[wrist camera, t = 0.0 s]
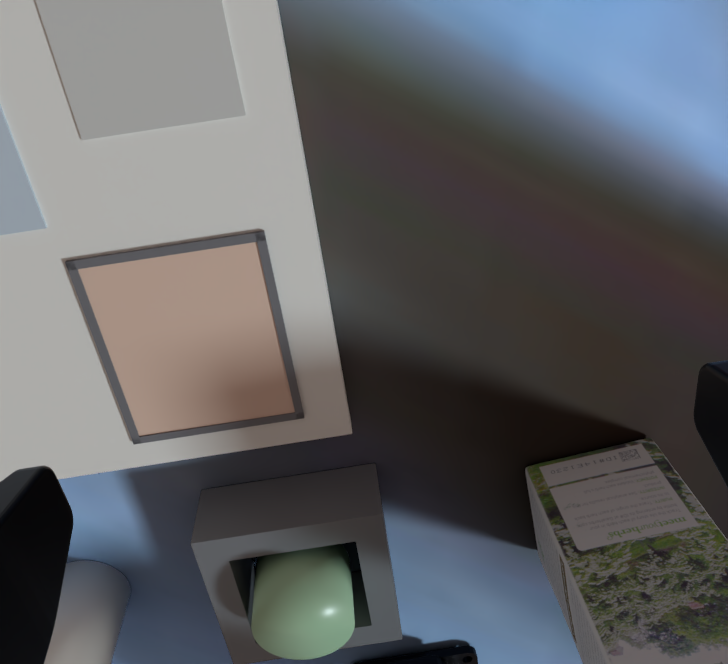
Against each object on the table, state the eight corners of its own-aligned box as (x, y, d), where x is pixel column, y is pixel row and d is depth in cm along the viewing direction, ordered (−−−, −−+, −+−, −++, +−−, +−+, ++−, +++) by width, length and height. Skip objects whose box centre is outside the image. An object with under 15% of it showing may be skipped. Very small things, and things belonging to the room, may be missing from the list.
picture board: (351, 421, 27) (352, 436, 26) (-42, 482, 27) (-53, 499, 26) (242, -195, 17) (239, -203, 17) (-367, -103, 17) (-402, -106, 17)
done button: (356, 590, 30) (361, 651, 27) (266, 604, 30) (262, 666, 27) (342, 524, 28) (346, 583, 25) (247, 539, 28) (241, 599, 25)
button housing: (394, 583, 32) (402, 639, 29) (239, 607, 32) (234, 665, 29) (375, 463, 28) (382, 513, 26) (201, 490, 28) (190, 543, 26)
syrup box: (535, 554, 32) (690, 949, 19) (520, 459, 29) (690, 849, 16) (655, 526, 31) (894, 908, 19) (651, 428, 28) (931, 799, 16)
